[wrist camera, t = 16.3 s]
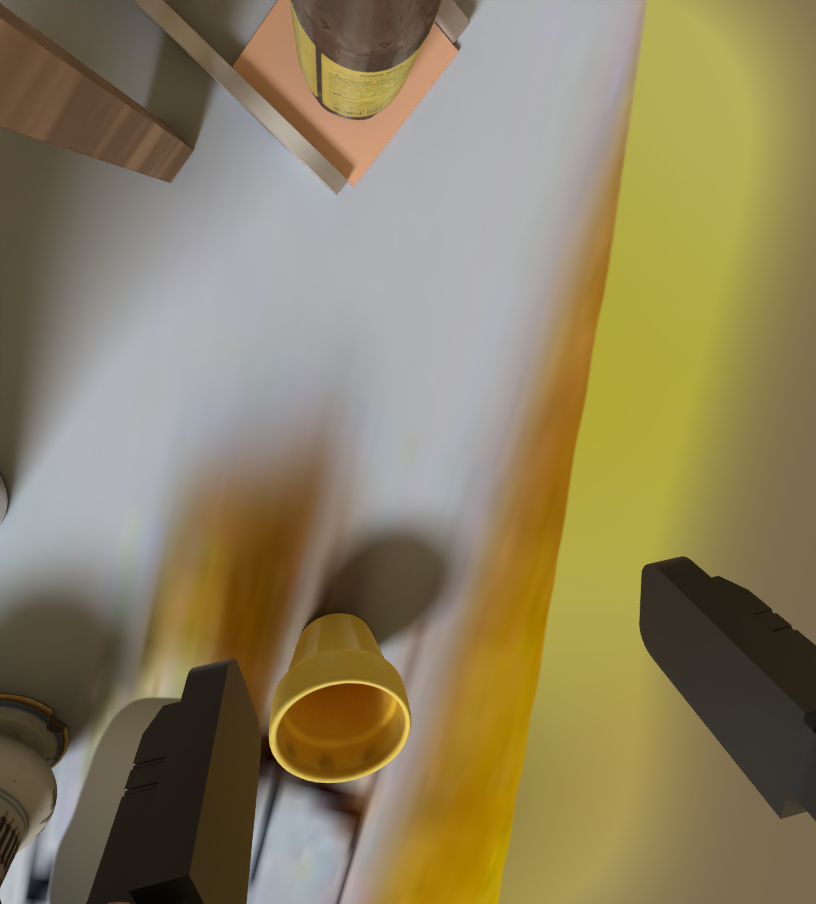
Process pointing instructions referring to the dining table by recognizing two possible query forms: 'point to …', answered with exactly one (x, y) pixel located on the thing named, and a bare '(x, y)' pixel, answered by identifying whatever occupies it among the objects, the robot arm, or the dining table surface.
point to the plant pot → (338, 704)
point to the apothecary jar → (26, 772)
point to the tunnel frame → (119, 117)
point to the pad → (285, 89)
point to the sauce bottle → (359, 50)
